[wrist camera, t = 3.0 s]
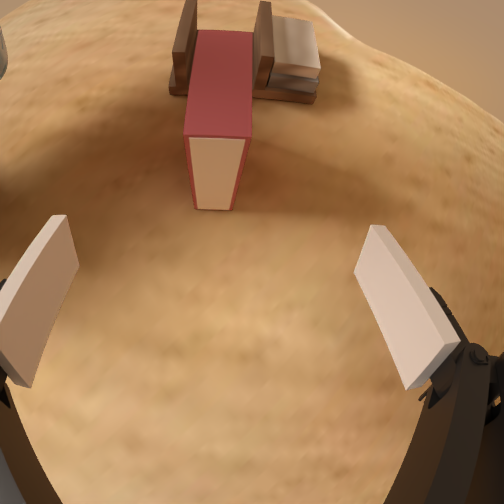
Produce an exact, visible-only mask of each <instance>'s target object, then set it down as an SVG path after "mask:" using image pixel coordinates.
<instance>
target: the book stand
mask: <svg viewBox="0 0 504 504" xmlns="http://www.w3.org/2000/svg"><path fill="white" fill-rule="evenodd" d="M198 31H199V30H197V0H186V1H185V5H184V8H183V12H182V15H181V19H180V22H179V26H178V30H177V34H176V38H175V42H174V46H173V50H172V57H173V67H172V72H171V77H170V82H169V93H170V95H188V92H189V85H190V78H191V72H192V66H193V60H194V54H195V48H196V42H197V37H198ZM223 31H226V30H223ZM240 32H242V31H240ZM320 70H321V65H320V60H319V54H318V48H317V43H316V38H315V33H314V28H313V23H312V22H310V21H305V20H299V19H294V18H287V17H280V16H273V15H272V10H271V2H266V1H260V4H259V9H258V14H257V18H256V23H255V28H254V32H252V97H255V98H266V99H276V100H285V101H293V102H301V103H308V104H313V103H314V101H315V99H316V97H317V96H316V88H317V86H318V84H319V79H318V74H319V72H320Z"/></svg>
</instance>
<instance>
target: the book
mask: <svg viewBox="0 0 504 504" xmlns="http://www.w3.org/2000/svg"><path fill="white" fill-rule="evenodd" d="M183 137H184V144H185V151H186V158H187V165H188V171H189V177H190V184H191V190H192V196H193V202H194V208H195V209H211V210H232V209H233V205H234V201H235V197H236V194H237V190H238V186H239V182H240V178H241V175H242V171H243V167H244V164H245V160H246V156H247V153H248V149H249V145H250V142H251V138H252V32H240V31H223V30H199V31H198V37H197V42H196V48H195V54H194V60H193V66H192V72H191V78H190V85H189V92H188V99H187V107H186V114H185V123H184V131H183Z"/></svg>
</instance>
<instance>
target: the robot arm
mask: <svg viewBox="0 0 504 504" xmlns="http://www.w3.org/2000/svg"><path fill="white" fill-rule="evenodd" d="M7 65H8V55H7V49H6V45H5V41H4V38H3V34H2V30H1V27H0V80H1V78H2V77H3V76H4V74H5V72H6V69H7ZM79 267H80V264H79V261H78V257H77V254H76V250H75V246H74V243H73V239H72V235H71V231H70V227H69V223H68V218H67V215H52V216H51V218H50V219H49V220H48V221H47V223H46V224H45V225H44V227H43V228H42V229H41V231H40V232H39V233H38V235H37V236H36V237H35V239H34V240H33V242H32V243H31V244H30V246H29V247H28V249H27V250H26V252H25V253H24V254H23V256H22V257H21V259H20V260H19V262H18V263H17V265H16V266H15V268H14V270H13V271H12V273H11V274H10V276H9V277H8V279H3V280H2V281H1V282H0V504H63V503H62V502H61V500H60V498H59V497H58V495H57V493H56V492H55V490H54V488H53V487H52V485H51V483H50V481H49V480H48V478H47V476H46V474H45V472H44V470H43V468H42V466H41V465H40V463H39V461H38V459H37V456H36V454H35V452H34V450H33V448H32V446H31V444H30V442H29V439H28V437H27V435H26V432H25V430H24V428H23V425H22V423H21V420H20V418H19V415H18V412H17V410H16V407H15V404H14V402H13V399H12V396H11V393H10V390H9V387H8V386H7V384H6V383H5V381H6V378H7V375H8V377H9V378H10V379H11V380H12V381H13V382H14V384H16V385H20V386H23V387H27V388H31V387H32V383H33V380H34V377H35V374H36V371H37V368H38V365H39V362H40V359H41V356H42V354H43V351H44V348H45V345H46V343H47V340H48V337H49V335H50V332H51V330H52V327H53V325H54V322H55V320H56V317H57V315H58V312H59V310H60V308H61V305H62V303H63V301H64V299H65V296H66V294H67V292H68V290H69V288H70V285H71V283H72V281H73V279H74V277H75V275H76V273H77V271H78V269H79ZM354 274H355V276H356V278H357V280H358V282H359V284H360V287H361V289H362V291H363V293H364V295H365V297H366V299H367V301H368V303H369V306H370V308H371V310H372V312H373V314H374V316H375V319H376V321H377V323H378V325H379V327H380V330H381V332H382V334H383V337H384V339H385V341H386V343H387V346H388V348H389V350H390V353H391V355H392V358H393V360H394V362H395V365H396V367H397V370H398V372H399V375H400V377H401V380H402V382H403V385H404V387H405V390H409V389H414V388H418V387H421V386H422V385H423V384H424V383H425V382H426V381H427V380H428V379H429V378H430V379H431V382H432V385H431V386H430V387H429V388H428V389H427V390H426V391H425V392H424V393H423V394H422V395H421V396H420V398H419V399H418V400H419V401H421V400H422V399H423V398H424V397H425V396H426V399H425V401H424V405H423V409H422V412H421V415H420V418H419V421H418V424H417V427H416V429H415V432H414V435H413V438H412V440H411V443H410V446H409V448H408V451H407V453H406V456H405V458H404V461H403V463H402V465H401V468H400V470H399V472H398V474H397V477H396V479H395V481H394V483H393V485H392V487H391V490H390V492H389V494H388V496H387V498H386V500H385V502H384V504H504V352H503V353H502V354H501V355H500V356H499V357H497V356H490V355H488V353H487V351H486V350H485V349H484V348H483V347H482V346H480V345H479V344H476V343H469V341H468V339H467V338H466V336H465V334H464V332H463V331H462V329H461V327H460V326H459V324H458V322H457V321H456V319H455V317H454V316H453V315H452V312H451V311H450V309H449V308H447V304H446V303H445V301H444V300H443V298H442V297H441V295H440V294H438V293H437V292H436V291H435V290H434V289H433V288H432V287H428V286H427V284H426V283H425V281H424V280H423V278H422V277H421V275H420V274H419V272H418V271H417V269H416V268H415V266H414V265H413V264H412V262H411V261H410V259H409V258H408V256H407V255H406V254H405V252H404V251H403V249H402V248H401V247H400V245H399V244H398V242H397V241H396V240H395V238H394V237H393V236H392V234H391V233H390V232H389V230H388V229H387V228H386V226H385V225H372V224H371V225H370V228H369V231H368V234H367V237H366V240H365V242H364V245H363V248H362V251H361V254H360V256H359V259H358V262H357V265H356V267H355V270H354ZM499 396H500V399H501V402H500V403H499V404H498V405H497V406H495V402H494V400H496V399H497V398H498V397H499Z"/></svg>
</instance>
